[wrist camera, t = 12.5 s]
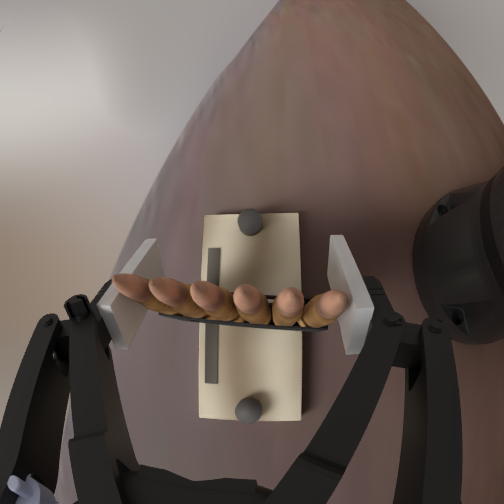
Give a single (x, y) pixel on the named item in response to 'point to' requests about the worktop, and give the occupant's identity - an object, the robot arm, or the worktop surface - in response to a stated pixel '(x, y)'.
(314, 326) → the ammunition clip
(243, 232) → the plate
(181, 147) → the worktop surface
